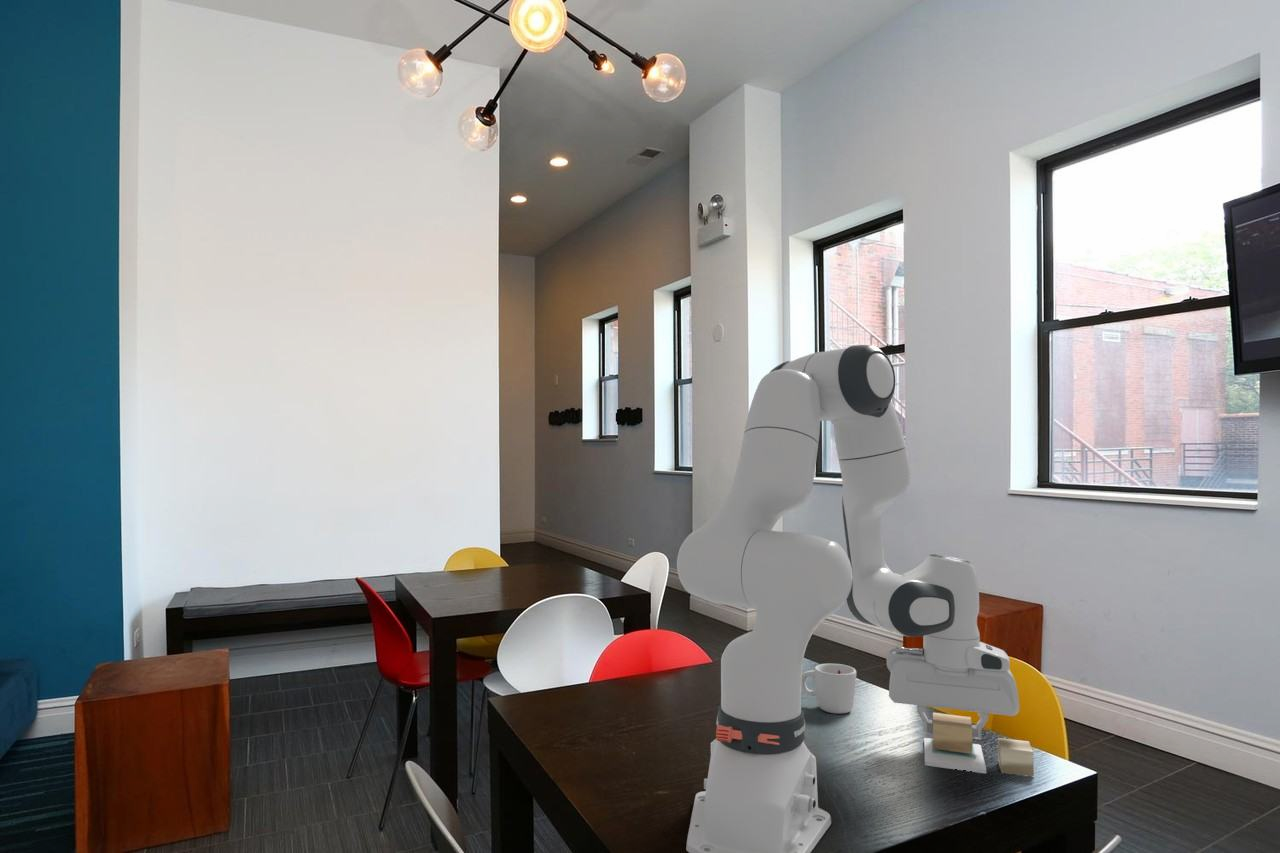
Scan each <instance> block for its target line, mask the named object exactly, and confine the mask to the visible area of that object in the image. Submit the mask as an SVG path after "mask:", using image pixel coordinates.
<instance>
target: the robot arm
mask: <svg viewBox="0 0 1280 853" xmlns="http://www.w3.org/2000/svg"><path fill="white" fill-rule="evenodd" d="M895 390H896V372H895V369H894V366H893V363H892V361H891V360H890V359H889V357H888V355H886V353H884V352H883V351H882V350H881V349H880V348H879V347H877V346H875V345H868V344H860V345H859V344H856V345H850V346H848V347H846V348H845V347H844V348H837V349H832V350H826V351H817V352H814V353H810V354H807V355H804V356H800V357H798V358H796V359H794V360H786V361H784V362H782V363H780V364H778V365H777V366H775V367H774V368H772V369H771V370H769V372H768V373H767V374H766V375H764V376H763V377H762V378H761V380H760V381H759V383H758V385H757V388H756V389H755V393H754V394H753V398H752V401H751V403H750V407H749V411H748V413H747V418H746V422H745V426H744V432H743V437H742V441H741V442H742V443H741V446H740V447H741V448H740V452H739V458H738V462H737V466H736V467H737V468H736V471H735V474H734V478H733V480H732V481H733V482H732V484H731V487H730V489H729V492H728V493H727V495H726V497H725V499H724V500H723V502H722V503H721V505H720V506H719V508H718V509H717V510H716V512H714V513H713V515H712V516H711V517H710V518H709V519H708V520H707V521H706V522H705V523H704V524H702V526H700V527H699V528H697V529H696V530H695V531H692V532H691V533H689V535H687V537H686V538H685V539H684V541H683V542H682V544H681V546H680V547H679V551H678V554H677V559H676V570H677V575H678V578H679V582H680V583H681V585H682V587H683V589H684V590H685V591H686V592H687V593H688V594H690V595H693V596H695V597H698V598H700V599H702V600H706V601H709V602H712V603H714V604H718V605H724V606H725V605H726V606H732V607H741V608H747V609H752V610H753V609H754V610H755V611H756V612H755V614H756V616H755V623H754V627H753V629H752V631H747V633H743V634H742V635H739V636H738V637H736V638H734V639H733V640H732V641H731V642H729V643H728V644H727V646H726V647H725V649H724V651H723V653H722V654H721V658H720V694H721V695H720V705H719V706H718V709H717V717H716V730H715V731H716V732H715V733H716V734H715V737H716V738H715V739H713V741H711V742H710V760H709V765H708V766H709V767H708V774H707V778H703V780H702V787H703V790H705V791H699V792H696V794H695V797H694V802H693V807H692V812H691V817H690V822H689V823H690V824H689V828H688V833H687V839H686V846H685V849H686V852H688V853H812V851H813V850H814V848H815V847H816V846H817V845H818V843H819V842H820V840H821V839H822V837H823V836H824V835H825V833H826V831H827V830H828V829H829V828H830V826H831V824H832V817H831V815H830V813H829V812H828V811H826V810H824V809H822V808H820V807H819V801H818V800H819V799H818V798H819V796H818V795H819V794H818V779H817V778H818V775H817V774H818V773H817V760H816V758H817V757H816V756H815V755H814V754H813V753H812V752H811V751H810V750H809V748H808V747H807V746H806V744H805V738H806V734H805V732H806V731H805V730H806V720H805V712H804V710H803V709H802V686H801V683H802V675H803V664H804V657H805V653H806V649H807V646H808V643H809V641H810V640H811V637H812V635H813V634H814V632H815V631H816V629H817V628H818V627H819V625H820V624H822V623H823V621H824V620H826V619H827V618H829V616H831V615H832V614H835V613H836V612H837V611H838V610H839V609H840V608H841V607H842V606H843V605H844V604H845V603H846V604H847V606H848V609H849V611H850V612H851V614H852V615H853V616H854V617H855V618H856V619H857V620H858V621H859V622H861V623H863V624H866V625H870V626H874V627H879V628H880V629H881V628H882V629H884V630H887V631H889V632H892V633H895V634H898V635H901V636H904V637H908V638H909V637H911V638H914V637H915V638H918V637H919V638H920V637H922V638H923V645H922V646H923V648H919V647H918V648H915V647H912V648H911V647H909V648H908V647H907V648H906V647H903V646H896V647H895V648H893V649H891V650H889V651H888V653H887V654H886V667H887V669H888V672H890V677H889V685H888V687H889V688H888V697H889V699H890V700H891V702H893V703H896V704H902V705H904V704H905V705H912V706H913V705H914V706H916V712H917V714H918V716H919V717H920V719H921V721H922V722H923V732H924V733H927V734H933V719H929V718H928V717H927V715H926V712H927V708H926V707H929V708H937V709H938V708H940V709H949V710H955V711H956V710H957V711H965V712H974V713H977V715H978V718H979V720H978V721H977V723H976V724H972V739H976V740H982V729H983V728H984V727H985V725H986V723H988V721H989V714H991V715H992V714H993V715H1001V716H1002V715H1003V716H1010V717H1014V716H1016V715H1017V714H1018V713H1019V712H1020V700H1019V692H1018V687H1017V683H1016V680H1015V677H1014V675H1013V673H1012V672H1011V671H1012V670H1010V665H1011V662H1010V661H1011V660H1010V658H1009V657H1010V656H1008V654H1007V653H1006V651H1005V650H1003V649H1001V648H999V647H996V646H993V645H990V644H988V643H986V642H982V641H980V640H981V635H980V631H979V627H978V616H979V613H980V590H979V589H980V588H979V582H978V581H979V580H978V575H977V571H976V569H975V566H974V565H973V564H972V563H971V562H970V561H969V560H966V559H965V558H959V557H955V556H954V557H953V556H949V555H944V554H939V553H930V554H928V555H927V556H926V558H925V560H923V562H921V563H920V564H919V565H917V566H916V567H915V568H913V569H911V570H909V571H907V572H904V573H902V574H899V573H895V572H893V571H892V570H891V569H890V568H889V566H888V565H887V563H886V560H885V551H884V542H883V534H882V533H883V532H882V528H881V526H882V525H881V523H882V522H881V521H882V517H883V513H884V511H886V508H888V507H889V506H891V505H892V504H894V503H895V502H896V501H898V500H899V499H900V498H901V497H902V496H903V495H904V493H906V492H907V489H908V487H909V485H910V483H911V464H910V458H909V453H908V449H907V443H906V441H905V437H904V432H903V428H902V426H901V422H900V420H899V416H898V414H897V412H896V409H895V406H894V405H893V402H892V399H893V396H894V394H895ZM825 421H830V423H831V424H832V425H833V432H834V433H833V434H834V441H835V449H836V453H837V459H838V464H839V469H840V475H841V483H842V501H841V502H842V503H841V504H842V505H841V507H842V509H841V510H842V519H843V520H842V521H843V526H844V527H843V528H844V536H845V544H846V551H845V549H844V548H843V547H842V546H841V544H840V543H838V541H834V540H832V539H831V540H830V539H827V538H824V537H822V536H819V535H818V536H817V535H814V534H809V533H804V532H794V531H793V532H791V531H790V532H789V531H776V530H775V531H774V530H773V529H774V526H775V525H776V523H777V522H778V521H779V520H780V519H781V518H782V517H783V516H784V515H785V514H787V513H788V512H791V511H792V510H794V509H797V508H798V507H800V506H802V505H803V504H804V503H805V502H806V501H807V500H808V499H809V497H810V495H811V493H812V492H813V491H812V490H813V487H814V478H815V473H816V472H815V471H816V463H817V458H818V457H817V456H818V451H819V442H820V441H819V440H820V433H821V422H825Z"/></svg>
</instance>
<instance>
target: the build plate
mask: <svg viewBox="0 0 1280 853" xmlns="http://www.w3.org/2000/svg"><path fill="white" fill-rule="evenodd" d="M923 744H924V745H923V746H924V749H923V750H924V752H923V753H924V766H926V767H927V766H928V767H935V768H942V769H949V770H950V769H951V770H955V769H957V771H963V770H966V771H965V772H970V771H972V772H971V773H977V774H978V773H979V774H987V766H986V762H985V758H984V753H983V749H982V745H981V744H978V743H972V747H973V754H969V753H962V752H956V751H949V750H942V749H935V748H933V738H929V737H924V738H923Z"/></svg>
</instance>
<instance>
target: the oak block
mask: <svg viewBox="0 0 1280 853" xmlns="http://www.w3.org/2000/svg"><path fill="white" fill-rule="evenodd" d="M932 720H933V733H932V739H933V748H935V749H942V750H949V751H956V752H962V753H969V754H973V747H972V744H973V738H972V725H973V724H972V717H971V716H964V715H963V716H962V715H954V714H948V713H941V712H932Z"/></svg>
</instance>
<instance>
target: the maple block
mask: <svg viewBox="0 0 1280 853" xmlns="http://www.w3.org/2000/svg"><path fill="white" fill-rule="evenodd" d="M997 757H998V758H997V760H998V762H999V763H998V766H999V769H1000V772H1001V774H1004V773H1006V774H1007V775H1012V774H1016V775H1015V776H1020V775H1027V776H1035V774H1034V751H1033V748H1032V746H1031V743H1030V741H1028V740H1019V739H1010V738H1004V737H1003V738H1002V737H997ZM1027 776H1026V777H1027Z"/></svg>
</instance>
